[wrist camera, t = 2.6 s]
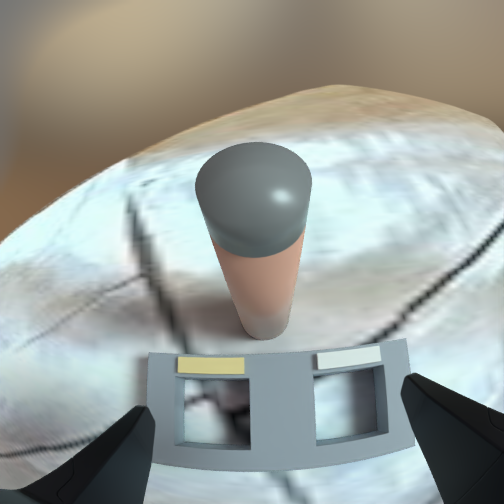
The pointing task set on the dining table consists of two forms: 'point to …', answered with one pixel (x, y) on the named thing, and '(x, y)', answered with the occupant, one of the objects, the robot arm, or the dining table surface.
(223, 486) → the dining table surface
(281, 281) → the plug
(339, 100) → the dining table surface
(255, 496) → the dining table surface
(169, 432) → the socket plate
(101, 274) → the dining table surface
